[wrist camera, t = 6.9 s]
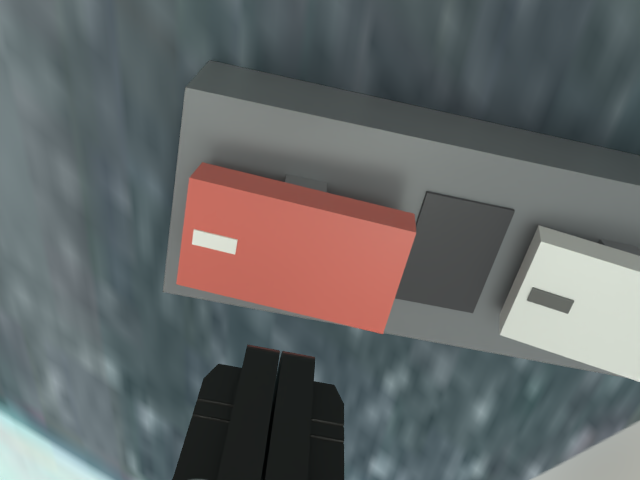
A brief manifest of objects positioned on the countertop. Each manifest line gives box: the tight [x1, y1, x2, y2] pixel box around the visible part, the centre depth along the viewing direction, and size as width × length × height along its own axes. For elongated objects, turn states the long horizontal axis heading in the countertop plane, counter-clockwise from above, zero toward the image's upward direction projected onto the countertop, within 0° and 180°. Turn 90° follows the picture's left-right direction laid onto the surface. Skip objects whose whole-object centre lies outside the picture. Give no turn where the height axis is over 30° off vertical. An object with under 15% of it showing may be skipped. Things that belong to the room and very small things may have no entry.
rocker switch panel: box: [163, 60, 640, 378], centre depth 26 cm, size 23×9×6 cm, turn 78°
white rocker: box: [500, 225, 640, 382], centre depth 23 cm, size 8×4×2 cm, turn 77°
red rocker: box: [176, 162, 416, 334], centre depth 22 cm, size 8×4×2 cm, turn 77°
